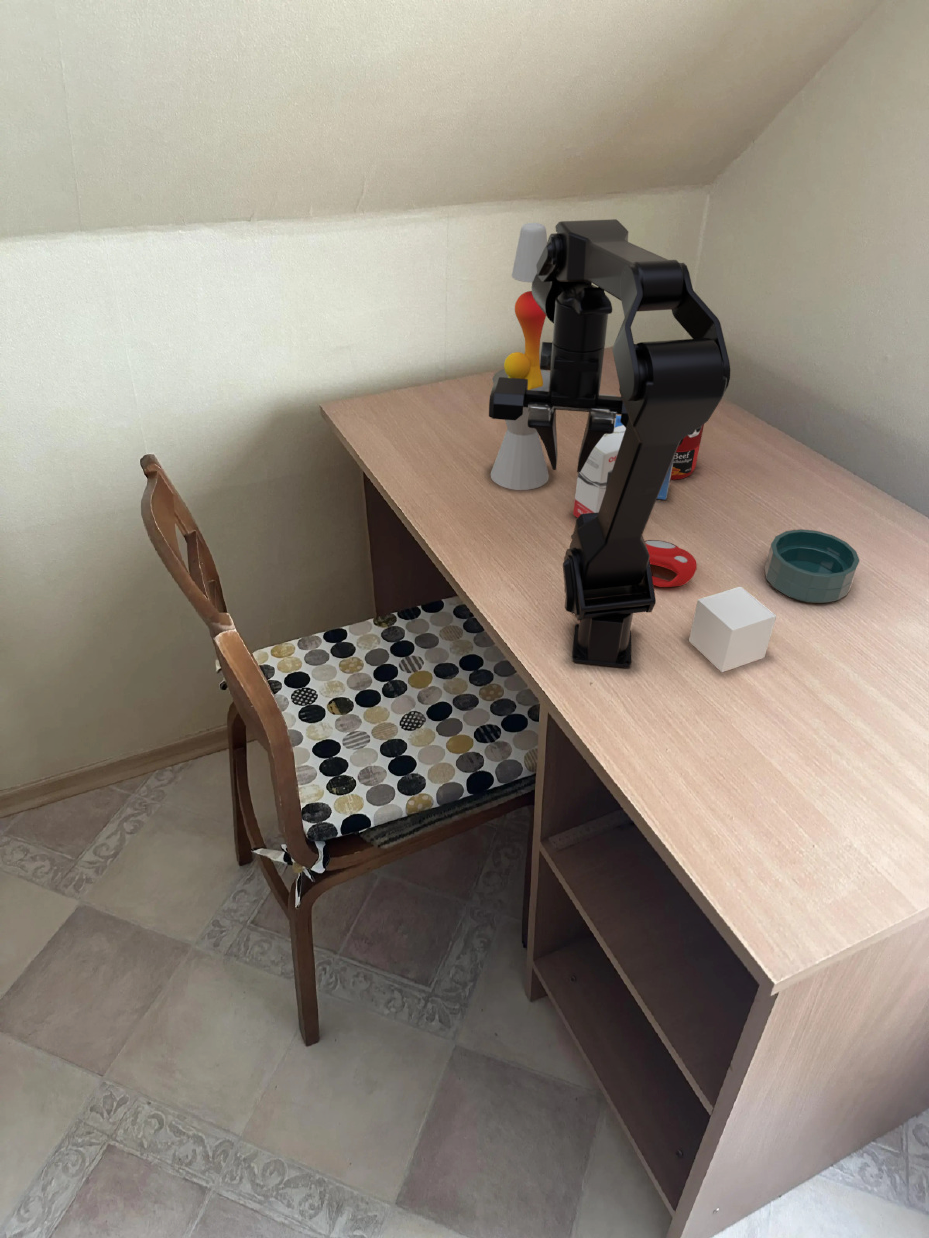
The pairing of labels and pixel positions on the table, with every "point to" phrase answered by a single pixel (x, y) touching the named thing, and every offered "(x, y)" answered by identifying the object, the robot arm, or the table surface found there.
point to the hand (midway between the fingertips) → (566, 469)
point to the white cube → (731, 628)
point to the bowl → (811, 566)
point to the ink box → (597, 473)
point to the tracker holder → (671, 562)
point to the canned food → (686, 455)
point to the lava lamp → (525, 375)
